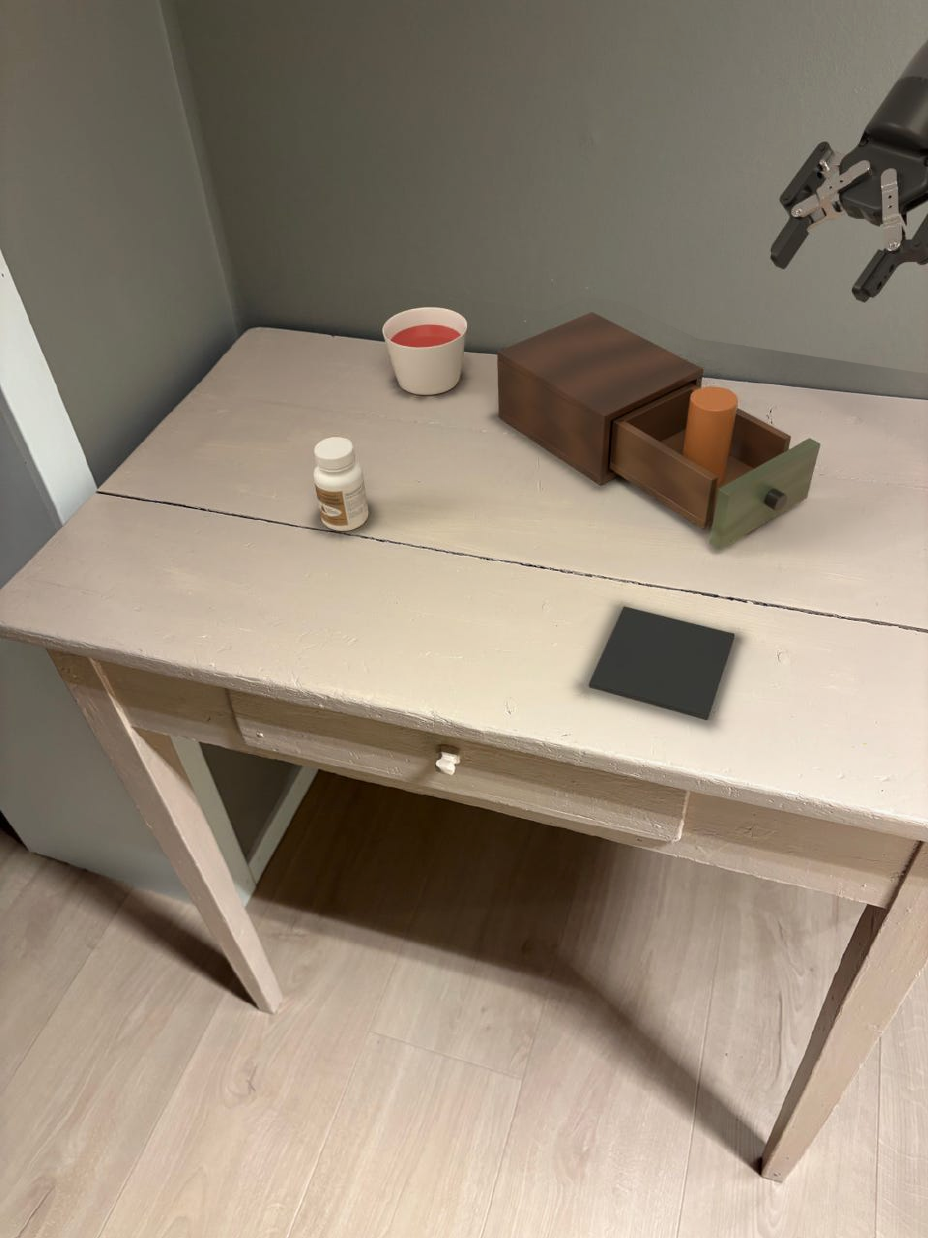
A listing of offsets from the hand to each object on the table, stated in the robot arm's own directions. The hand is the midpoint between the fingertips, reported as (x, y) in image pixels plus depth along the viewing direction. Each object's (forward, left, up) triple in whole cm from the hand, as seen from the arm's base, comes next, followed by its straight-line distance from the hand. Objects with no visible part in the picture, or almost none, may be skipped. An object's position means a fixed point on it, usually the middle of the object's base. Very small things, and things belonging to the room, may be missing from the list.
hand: (815, 280), depth 82 cm
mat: (+3, +32, -17) cm, 36 cm away
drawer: (+5, +10, -16) cm, 20 cm away
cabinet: (+18, +2, -17) cm, 25 cm away
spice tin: (+6, +10, -15) cm, 19 cm away
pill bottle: (+35, +24, -17) cm, 46 cm away
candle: (+38, -1, -17) cm, 42 cm away
